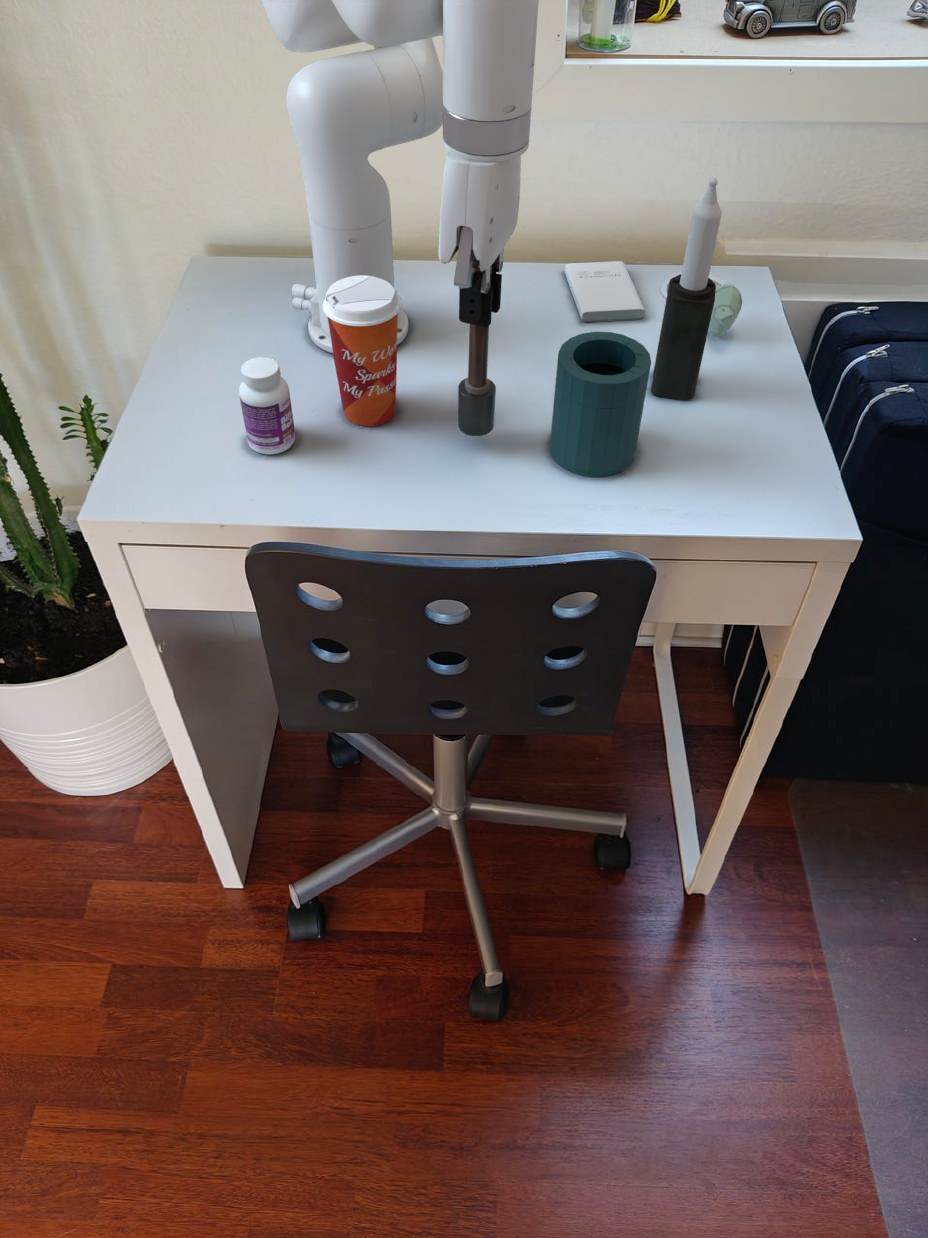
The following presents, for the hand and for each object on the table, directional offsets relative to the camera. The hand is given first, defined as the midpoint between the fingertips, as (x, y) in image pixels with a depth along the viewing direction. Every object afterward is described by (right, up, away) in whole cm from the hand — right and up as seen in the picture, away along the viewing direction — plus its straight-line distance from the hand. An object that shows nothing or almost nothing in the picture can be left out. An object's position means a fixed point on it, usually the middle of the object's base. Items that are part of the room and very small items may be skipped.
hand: (479, 314), depth 99 cm
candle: (+23, -3, +20) cm, 31 cm away
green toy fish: (+31, +6, +28) cm, 42 cm away
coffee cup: (-12, -6, +16) cm, 21 cm away
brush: (0, -9, +10) cm, 14 cm away
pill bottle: (-23, -11, +12) cm, 28 cm away
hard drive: (+17, +13, +34) cm, 40 cm away
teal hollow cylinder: (+13, -11, +12) cm, 21 cm away
